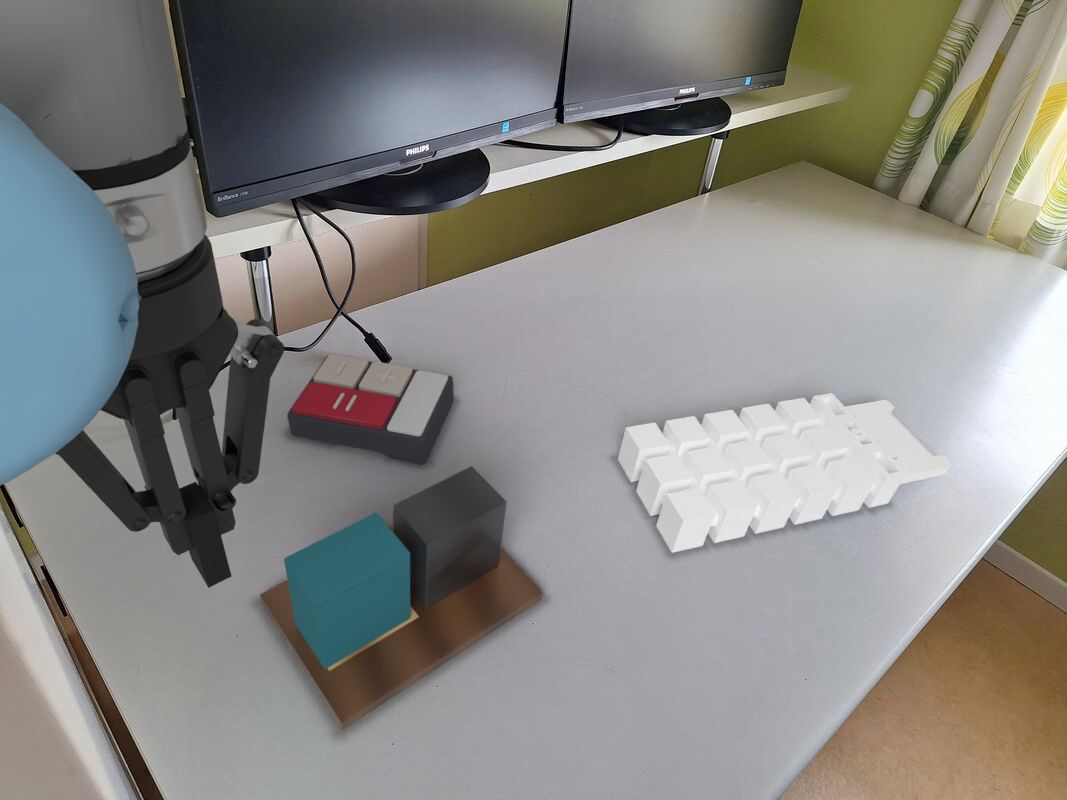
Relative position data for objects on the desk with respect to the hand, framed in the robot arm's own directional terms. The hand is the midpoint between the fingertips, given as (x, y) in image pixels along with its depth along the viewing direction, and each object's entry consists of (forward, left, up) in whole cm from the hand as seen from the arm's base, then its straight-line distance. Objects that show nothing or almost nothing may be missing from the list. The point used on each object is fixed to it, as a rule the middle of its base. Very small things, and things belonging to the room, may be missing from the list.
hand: (211, 567), depth 49 cm
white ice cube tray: (+57, -10, -16) cm, 60 cm away
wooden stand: (+14, 0, -16) cm, 22 cm away
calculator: (+24, +22, -16) cm, 37 cm away
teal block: (+9, 0, -15) cm, 18 cm away
